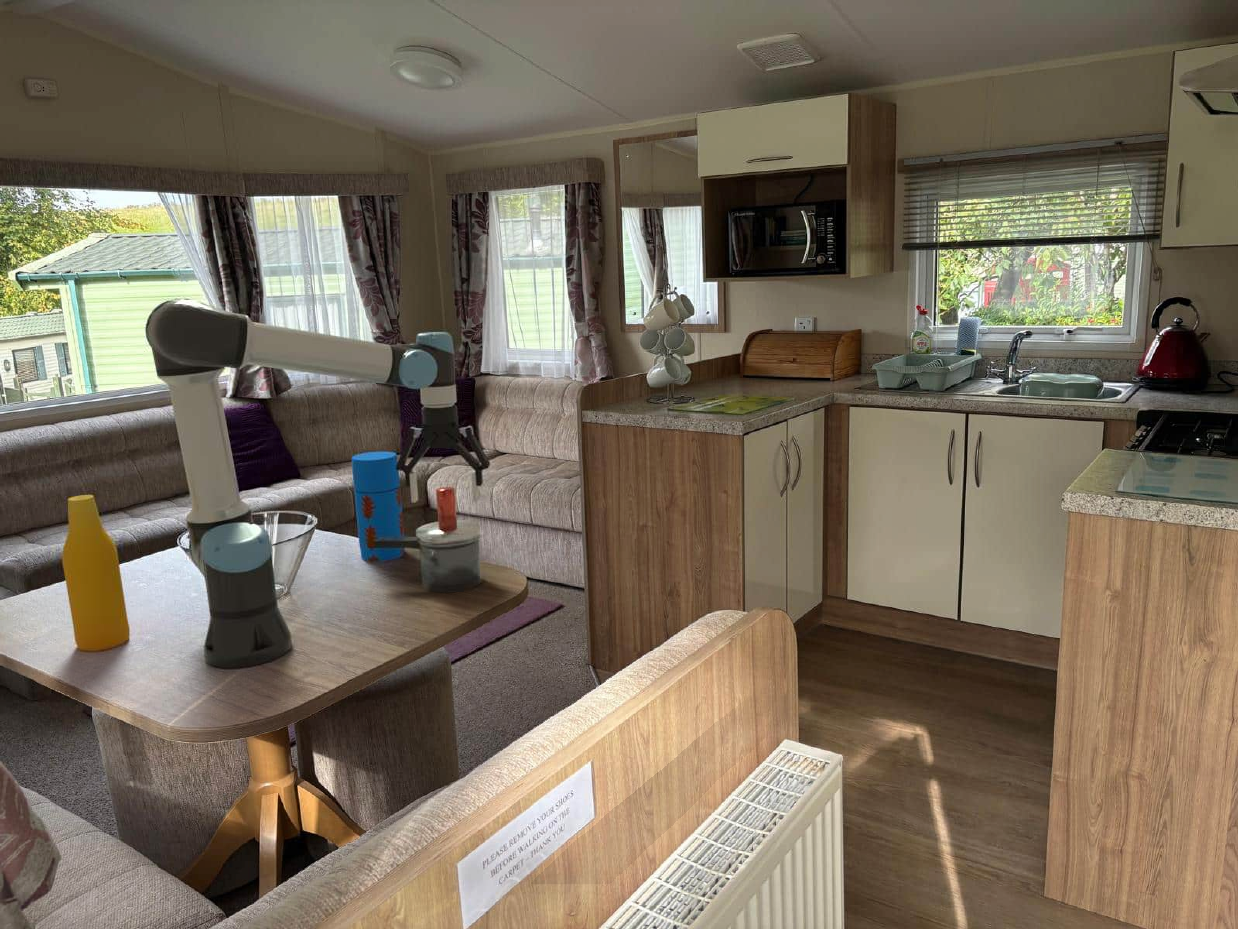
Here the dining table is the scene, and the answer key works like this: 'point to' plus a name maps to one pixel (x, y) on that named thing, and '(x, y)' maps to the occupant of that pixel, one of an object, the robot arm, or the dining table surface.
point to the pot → (443, 562)
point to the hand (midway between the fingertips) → (445, 500)
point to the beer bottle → (93, 579)
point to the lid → (447, 523)
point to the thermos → (377, 503)
